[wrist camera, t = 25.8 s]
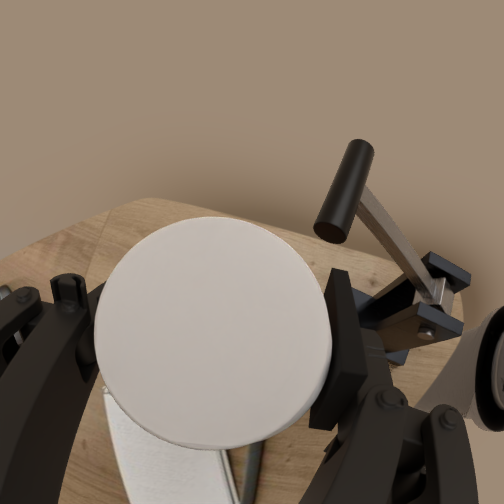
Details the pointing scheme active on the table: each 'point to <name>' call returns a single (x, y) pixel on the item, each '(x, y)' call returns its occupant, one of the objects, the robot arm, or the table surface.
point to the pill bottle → (213, 334)
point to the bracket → (410, 311)
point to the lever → (375, 224)
